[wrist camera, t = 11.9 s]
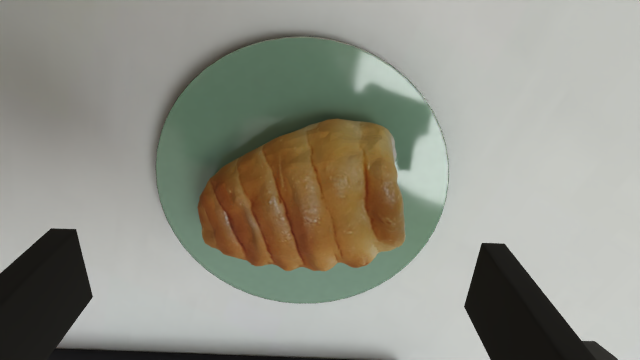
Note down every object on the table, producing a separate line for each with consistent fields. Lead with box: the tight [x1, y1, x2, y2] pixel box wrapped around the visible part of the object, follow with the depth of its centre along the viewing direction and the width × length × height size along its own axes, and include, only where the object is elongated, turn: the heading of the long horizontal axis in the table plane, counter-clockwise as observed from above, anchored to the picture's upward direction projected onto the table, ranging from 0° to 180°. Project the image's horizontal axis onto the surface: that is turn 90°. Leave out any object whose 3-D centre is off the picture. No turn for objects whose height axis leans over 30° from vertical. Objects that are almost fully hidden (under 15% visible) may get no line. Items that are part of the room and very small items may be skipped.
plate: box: [156, 36, 449, 303], centre depth 19 cm, size 14×14×1 cm
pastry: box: [197, 119, 406, 271], centre depth 17 cm, size 9×7×4 cm
